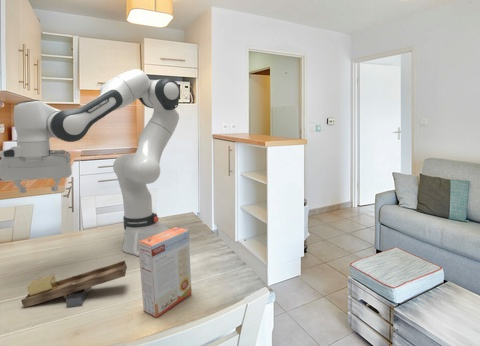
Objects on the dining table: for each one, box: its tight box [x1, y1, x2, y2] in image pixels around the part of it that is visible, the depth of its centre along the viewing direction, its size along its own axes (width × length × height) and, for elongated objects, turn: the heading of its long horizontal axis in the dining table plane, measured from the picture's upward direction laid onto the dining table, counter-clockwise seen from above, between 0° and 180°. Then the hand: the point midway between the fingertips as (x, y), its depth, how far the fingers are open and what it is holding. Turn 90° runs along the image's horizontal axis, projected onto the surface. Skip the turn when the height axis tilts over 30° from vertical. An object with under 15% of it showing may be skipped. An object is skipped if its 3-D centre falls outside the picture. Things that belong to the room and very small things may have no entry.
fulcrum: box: [65, 289, 89, 308], centre depth 92 cm, size 4×12×2 cm, turn 15°
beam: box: [21, 260, 128, 309], centre depth 92 cm, size 28×6×4 cm, turn 103°
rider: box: [26, 274, 58, 297], centre depth 89 cm, size 6×4×4 cm, turn 103°
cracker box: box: [138, 226, 192, 319], centre depth 87 cm, size 14×6×21 cm, turn 145°
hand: (39, 191), depth 101 cm, fingers open, 8 cm apart
